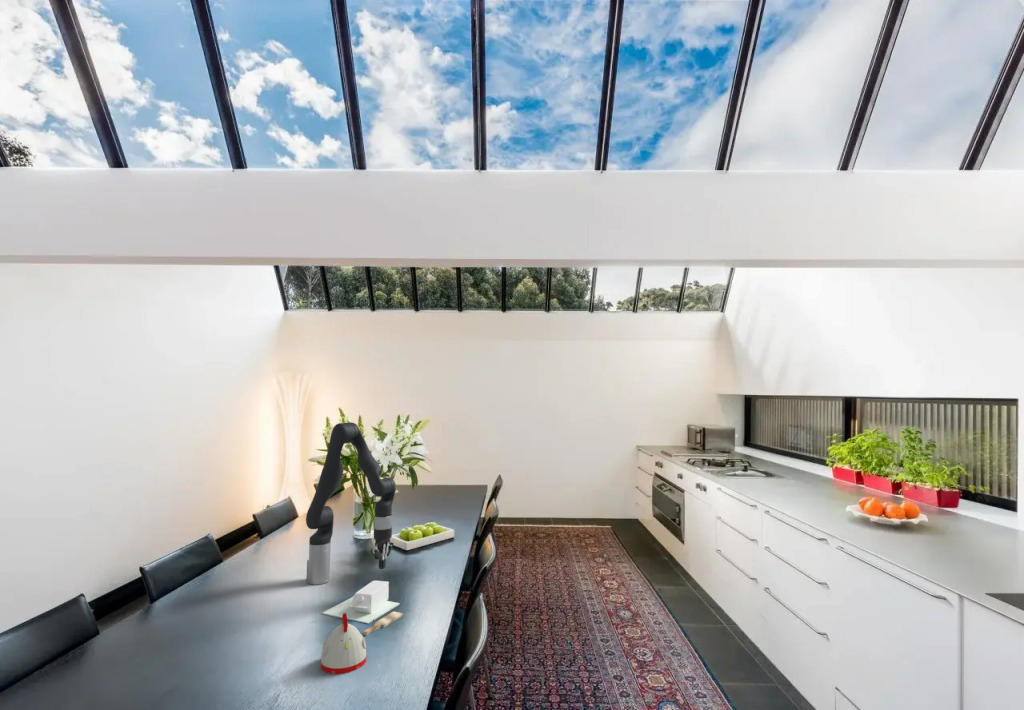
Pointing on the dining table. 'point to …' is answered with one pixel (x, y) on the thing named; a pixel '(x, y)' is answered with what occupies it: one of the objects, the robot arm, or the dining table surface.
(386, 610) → the mat
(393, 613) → the beech turner
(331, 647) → the kitchen timer
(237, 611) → the dining table surface
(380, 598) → the milk carton
